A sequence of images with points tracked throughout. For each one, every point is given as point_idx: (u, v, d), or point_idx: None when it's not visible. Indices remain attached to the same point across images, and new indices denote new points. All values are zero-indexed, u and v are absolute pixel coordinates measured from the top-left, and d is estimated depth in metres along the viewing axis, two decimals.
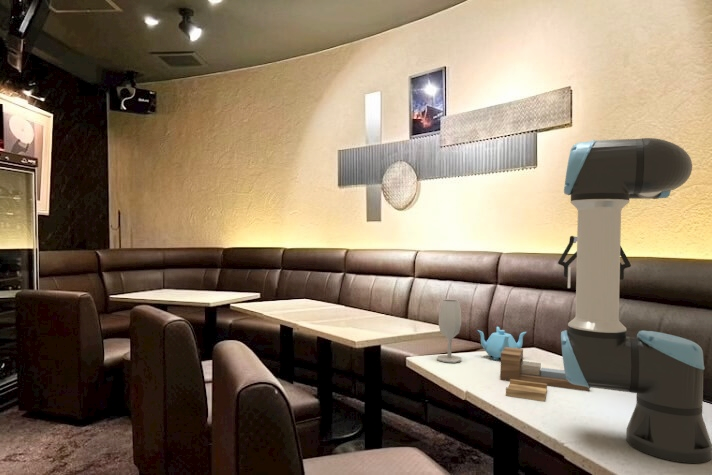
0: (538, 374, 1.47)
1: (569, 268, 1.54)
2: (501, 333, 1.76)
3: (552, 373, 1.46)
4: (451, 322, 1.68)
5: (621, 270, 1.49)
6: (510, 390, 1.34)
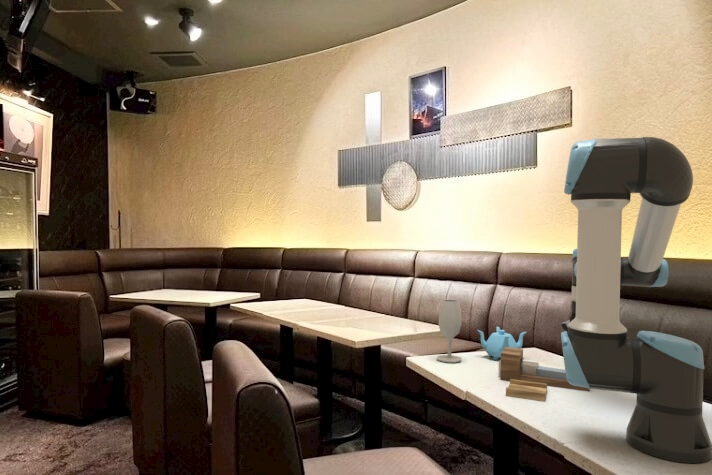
0: (534, 373, 1.47)
1: None
2: (501, 333, 1.76)
3: (548, 371, 1.47)
4: (451, 322, 1.68)
5: None
6: (510, 390, 1.34)
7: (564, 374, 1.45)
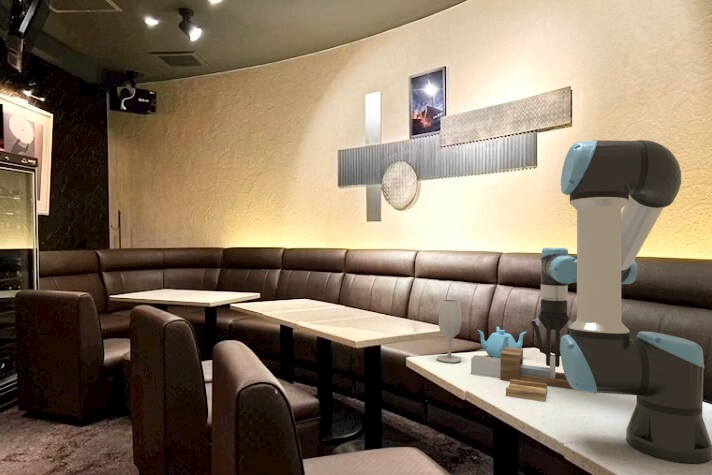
0: None
1: (551, 357, 1.47)
2: (501, 333, 1.76)
3: None
4: (451, 322, 1.68)
5: (554, 356, 1.47)
6: (510, 390, 1.34)
7: (534, 370, 1.48)
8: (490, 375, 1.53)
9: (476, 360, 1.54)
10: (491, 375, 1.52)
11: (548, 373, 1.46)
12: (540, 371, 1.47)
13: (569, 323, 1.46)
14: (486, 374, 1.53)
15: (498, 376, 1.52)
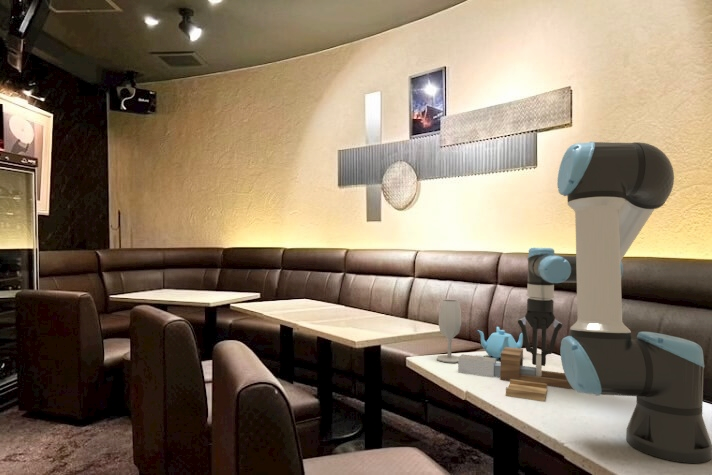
0: (492, 369, 1.52)
1: (537, 356, 1.49)
2: (501, 333, 1.76)
3: None
4: (451, 322, 1.68)
5: (541, 355, 1.49)
6: (510, 390, 1.34)
7: (520, 370, 1.49)
8: (477, 374, 1.54)
9: (463, 359, 1.56)
10: (478, 374, 1.54)
11: (534, 372, 1.48)
12: (526, 370, 1.49)
13: (555, 322, 1.47)
14: (473, 373, 1.55)
15: (485, 375, 1.53)
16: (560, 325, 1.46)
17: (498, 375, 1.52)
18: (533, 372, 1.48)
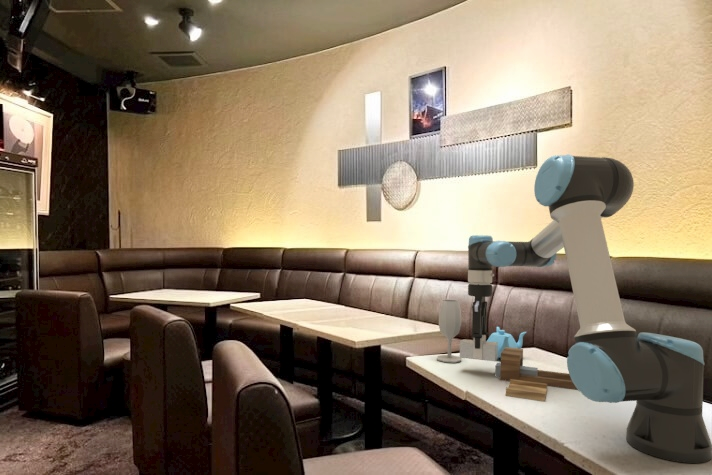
0: (494, 352, 1.52)
1: None
2: (501, 333, 1.76)
3: None
4: (451, 322, 1.68)
5: None
6: (510, 390, 1.34)
7: (521, 370, 1.49)
8: None
9: (464, 344, 1.56)
10: None
11: (535, 373, 1.48)
12: (527, 371, 1.48)
13: None
14: None
15: (486, 358, 1.53)
16: None
17: (499, 375, 1.52)
18: (534, 372, 1.48)
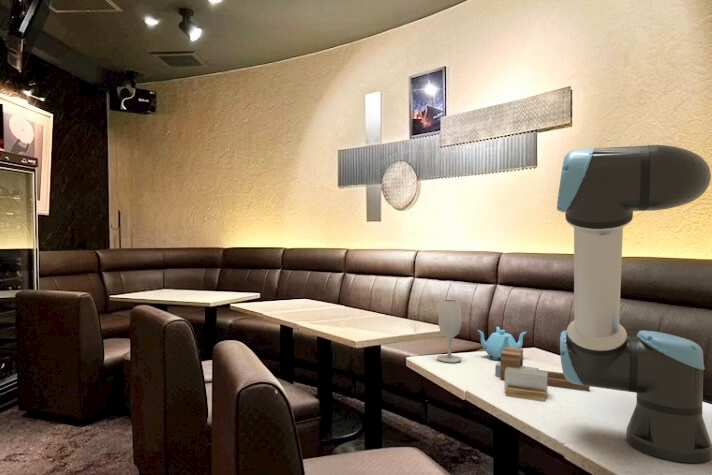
0: (545, 385, 1.33)
1: None
2: (501, 333, 1.76)
3: None
4: (451, 322, 1.68)
5: None
6: (510, 390, 1.34)
7: None
8: None
9: (510, 374, 1.36)
10: None
11: None
12: None
13: None
14: None
15: None
16: None
17: (499, 375, 1.52)
18: None
